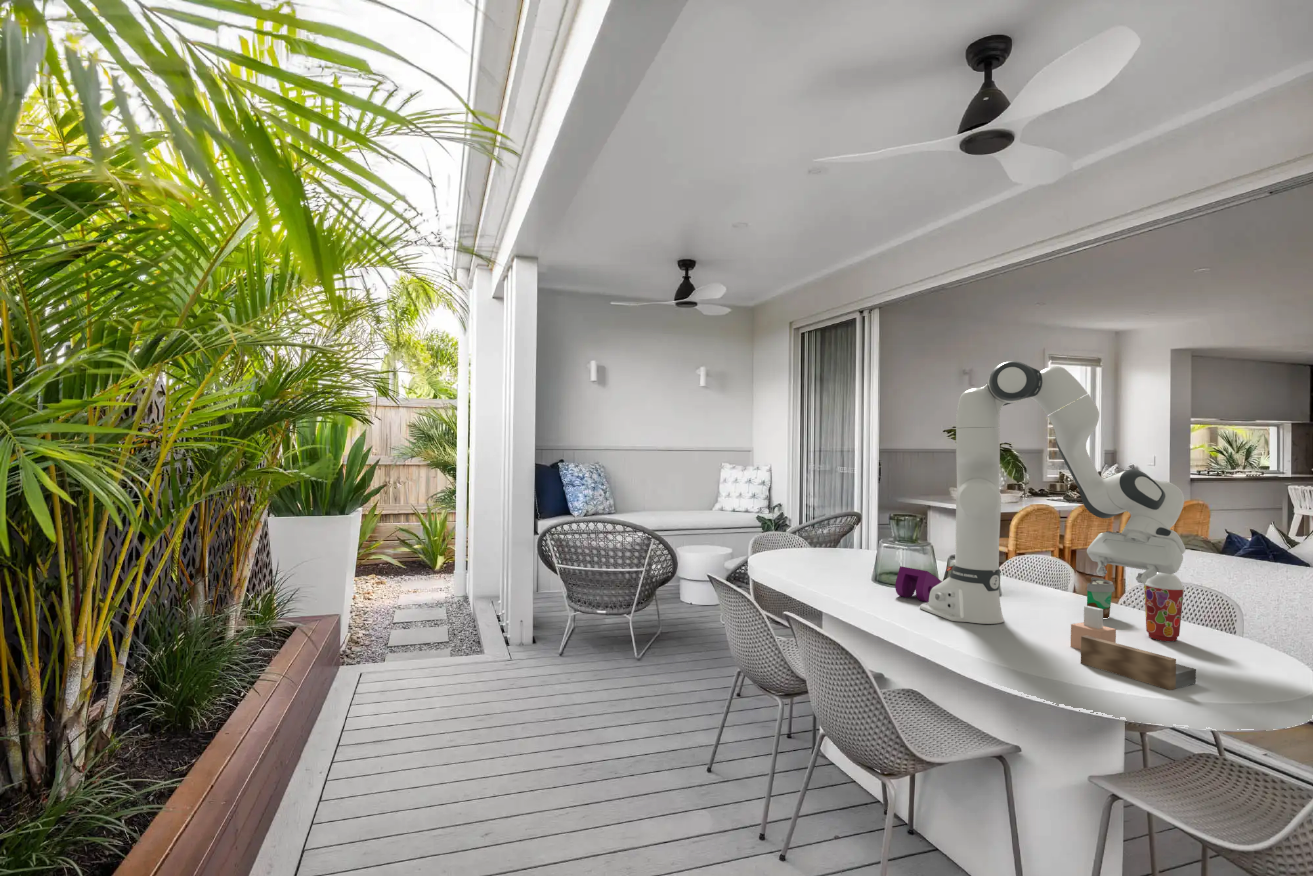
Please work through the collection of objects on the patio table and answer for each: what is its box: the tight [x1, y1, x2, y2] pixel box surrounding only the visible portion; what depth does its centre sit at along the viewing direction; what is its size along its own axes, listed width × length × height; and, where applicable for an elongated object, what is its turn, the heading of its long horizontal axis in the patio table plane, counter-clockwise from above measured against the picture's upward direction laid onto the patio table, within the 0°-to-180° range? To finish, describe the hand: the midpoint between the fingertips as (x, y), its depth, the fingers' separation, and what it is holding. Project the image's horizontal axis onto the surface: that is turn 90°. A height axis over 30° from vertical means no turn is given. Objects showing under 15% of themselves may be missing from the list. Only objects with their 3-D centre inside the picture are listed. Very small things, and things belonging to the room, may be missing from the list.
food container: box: [1086, 577, 1116, 618], centre depth 199 cm, size 12×6×10 cm, turn 143°
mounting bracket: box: [894, 566, 943, 603], centre depth 220 cm, size 9×8×18 cm
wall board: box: [1080, 635, 1197, 691], centre depth 150 cm, size 18×10×6 cm, turn 27°
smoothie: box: [1143, 572, 1185, 642], centre depth 177 cm, size 8×8×20 cm
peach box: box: [1070, 605, 1117, 651], centre depth 167 cm, size 7×6×10 cm
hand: (1119, 577), depth 171 cm, fingers open, 8 cm apart
